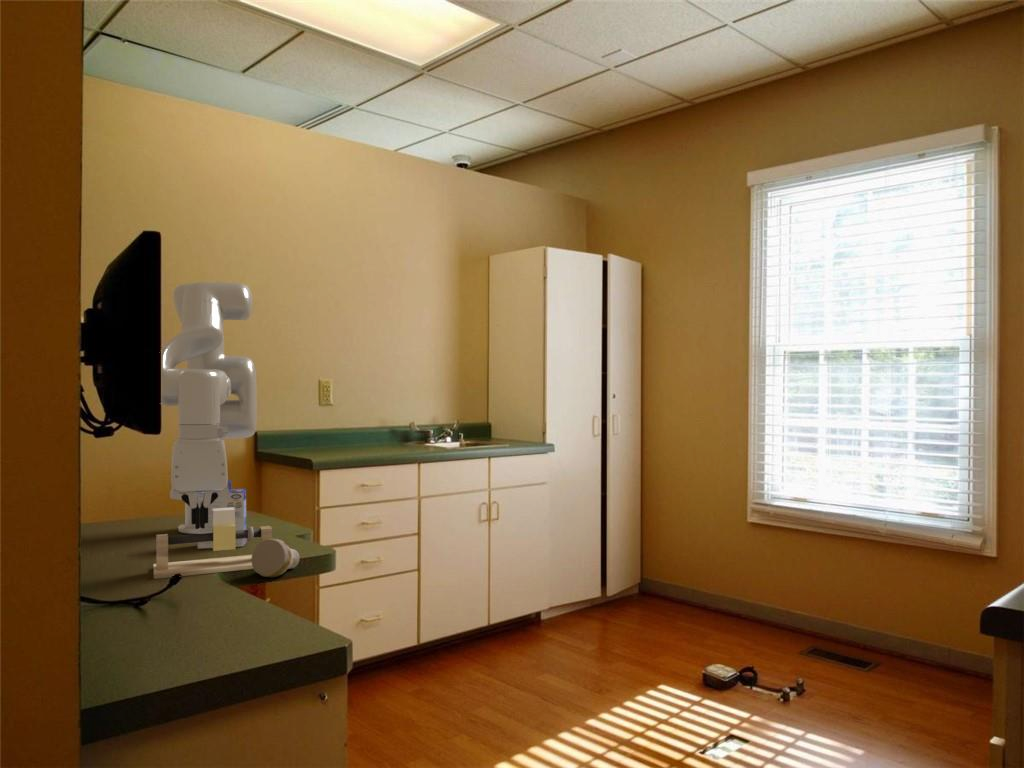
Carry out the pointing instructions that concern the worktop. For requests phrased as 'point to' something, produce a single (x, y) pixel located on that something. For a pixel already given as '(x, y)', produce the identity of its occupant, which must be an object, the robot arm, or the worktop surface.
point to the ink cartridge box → (233, 499)
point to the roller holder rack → (204, 565)
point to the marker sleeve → (223, 529)
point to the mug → (273, 558)
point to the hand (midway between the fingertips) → (199, 527)
